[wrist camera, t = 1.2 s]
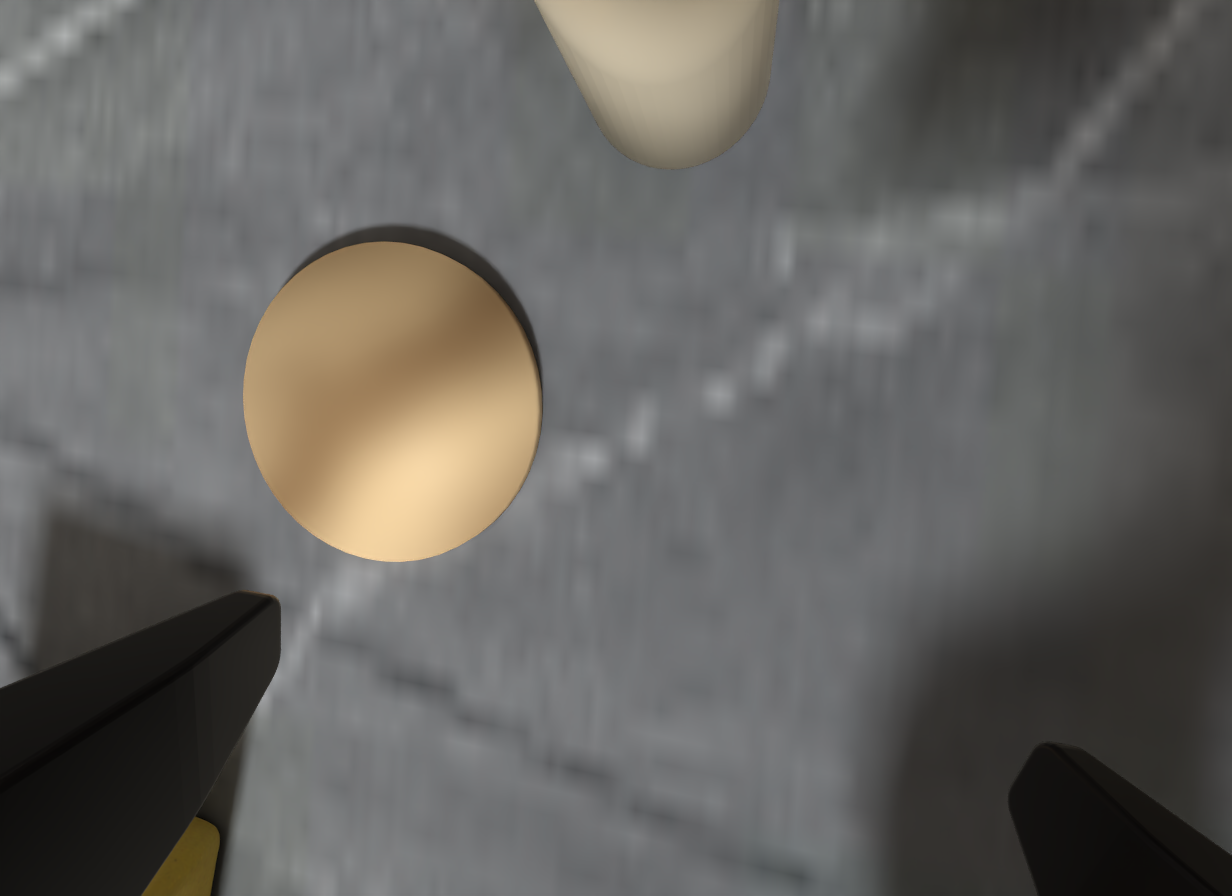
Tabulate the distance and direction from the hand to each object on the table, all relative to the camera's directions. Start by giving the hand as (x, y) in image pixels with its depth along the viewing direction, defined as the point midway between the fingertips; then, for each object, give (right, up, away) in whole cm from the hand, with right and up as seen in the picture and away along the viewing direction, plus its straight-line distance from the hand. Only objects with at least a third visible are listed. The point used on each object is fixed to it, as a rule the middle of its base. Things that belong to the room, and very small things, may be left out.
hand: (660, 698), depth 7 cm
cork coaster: (-8, +4, +13) cm, 16 cm away
